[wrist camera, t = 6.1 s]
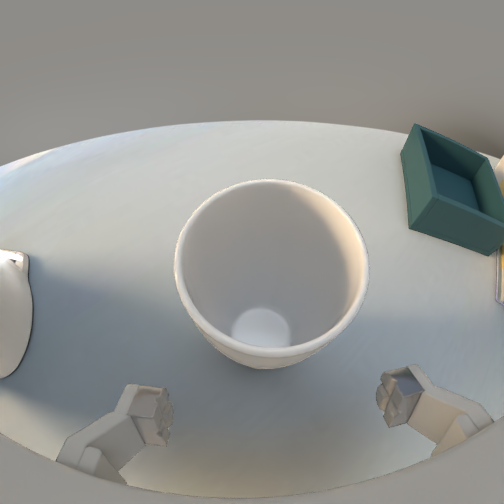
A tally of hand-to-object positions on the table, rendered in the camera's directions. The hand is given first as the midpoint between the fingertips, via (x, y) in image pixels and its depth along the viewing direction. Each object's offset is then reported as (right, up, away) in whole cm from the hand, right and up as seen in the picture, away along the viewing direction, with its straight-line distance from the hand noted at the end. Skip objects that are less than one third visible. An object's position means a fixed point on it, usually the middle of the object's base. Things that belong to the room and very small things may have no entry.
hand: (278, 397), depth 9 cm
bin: (+25, +12, +21) cm, 35 cm away
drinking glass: (0, -2, +13) cm, 13 cm away
